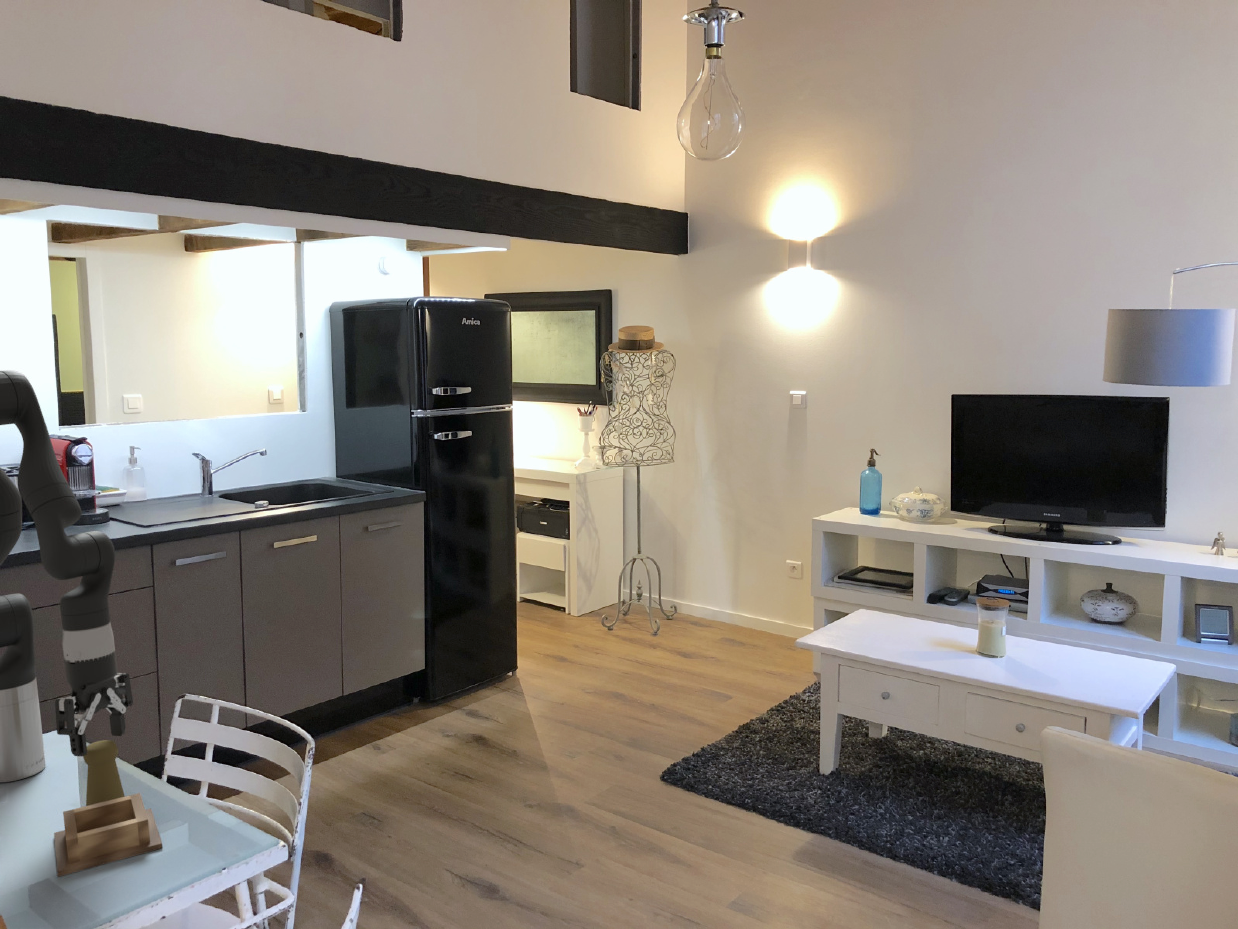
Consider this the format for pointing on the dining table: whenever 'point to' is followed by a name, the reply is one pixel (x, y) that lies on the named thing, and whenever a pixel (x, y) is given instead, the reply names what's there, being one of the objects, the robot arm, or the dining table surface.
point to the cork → (102, 772)
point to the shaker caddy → (105, 834)
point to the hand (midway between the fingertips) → (99, 745)
